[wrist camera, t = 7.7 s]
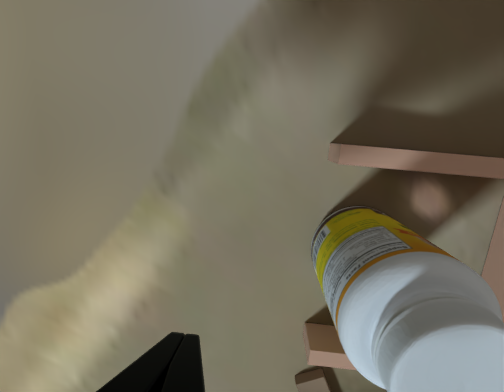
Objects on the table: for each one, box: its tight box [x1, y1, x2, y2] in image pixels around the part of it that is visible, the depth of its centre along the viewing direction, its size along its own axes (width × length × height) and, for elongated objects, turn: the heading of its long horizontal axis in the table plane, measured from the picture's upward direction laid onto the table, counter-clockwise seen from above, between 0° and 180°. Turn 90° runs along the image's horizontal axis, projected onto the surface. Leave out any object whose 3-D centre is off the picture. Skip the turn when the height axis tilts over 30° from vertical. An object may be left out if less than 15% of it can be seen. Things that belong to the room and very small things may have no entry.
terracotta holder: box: [303, 143, 504, 370], centre depth 16 cm, size 13×12×2 cm
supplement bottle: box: [311, 206, 504, 392], centre depth 13 cm, size 6×6×10 cm
